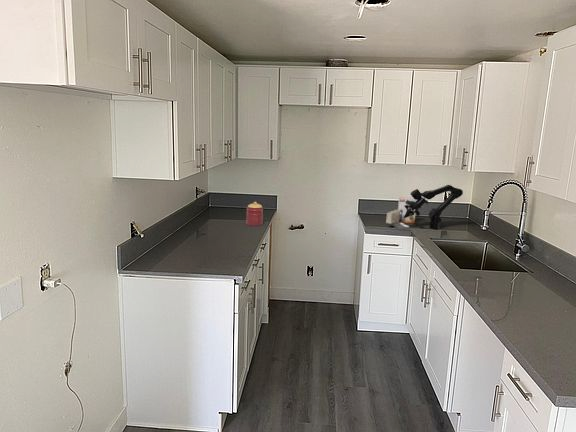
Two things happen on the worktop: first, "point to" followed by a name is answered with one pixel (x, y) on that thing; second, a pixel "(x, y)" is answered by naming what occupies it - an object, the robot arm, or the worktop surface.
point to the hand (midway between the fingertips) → (404, 217)
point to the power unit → (400, 226)
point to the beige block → (394, 216)
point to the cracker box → (401, 207)
